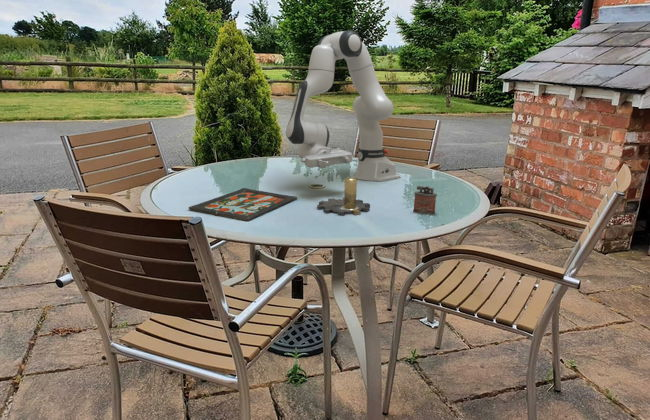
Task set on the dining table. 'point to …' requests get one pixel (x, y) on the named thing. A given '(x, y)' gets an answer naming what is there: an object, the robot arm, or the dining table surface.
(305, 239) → the dining table surface
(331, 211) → the sprocket plate
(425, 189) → the lighter
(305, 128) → the robot arm
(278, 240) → the dining table surface
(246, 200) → the painting
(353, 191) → the pin
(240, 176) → the dining table surface
